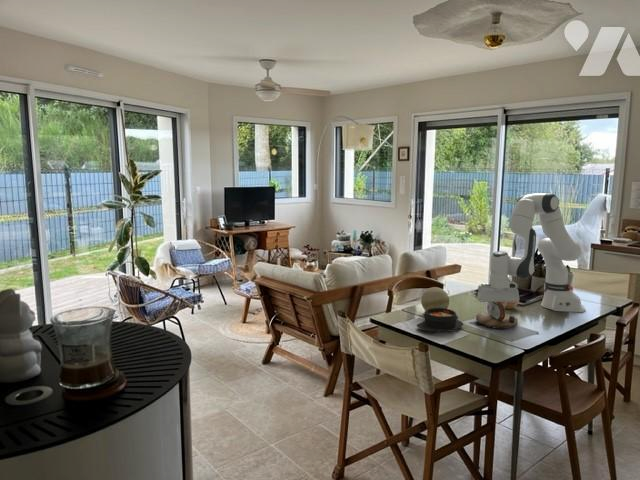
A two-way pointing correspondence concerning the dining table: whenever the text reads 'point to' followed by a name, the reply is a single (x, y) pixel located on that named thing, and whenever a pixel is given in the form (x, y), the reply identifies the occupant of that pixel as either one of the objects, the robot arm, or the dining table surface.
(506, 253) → the robot arm
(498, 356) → the dining table surface
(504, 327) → the turntable base
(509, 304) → the vase
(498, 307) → the tin
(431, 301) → the decorative ball
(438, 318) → the casserole
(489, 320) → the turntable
